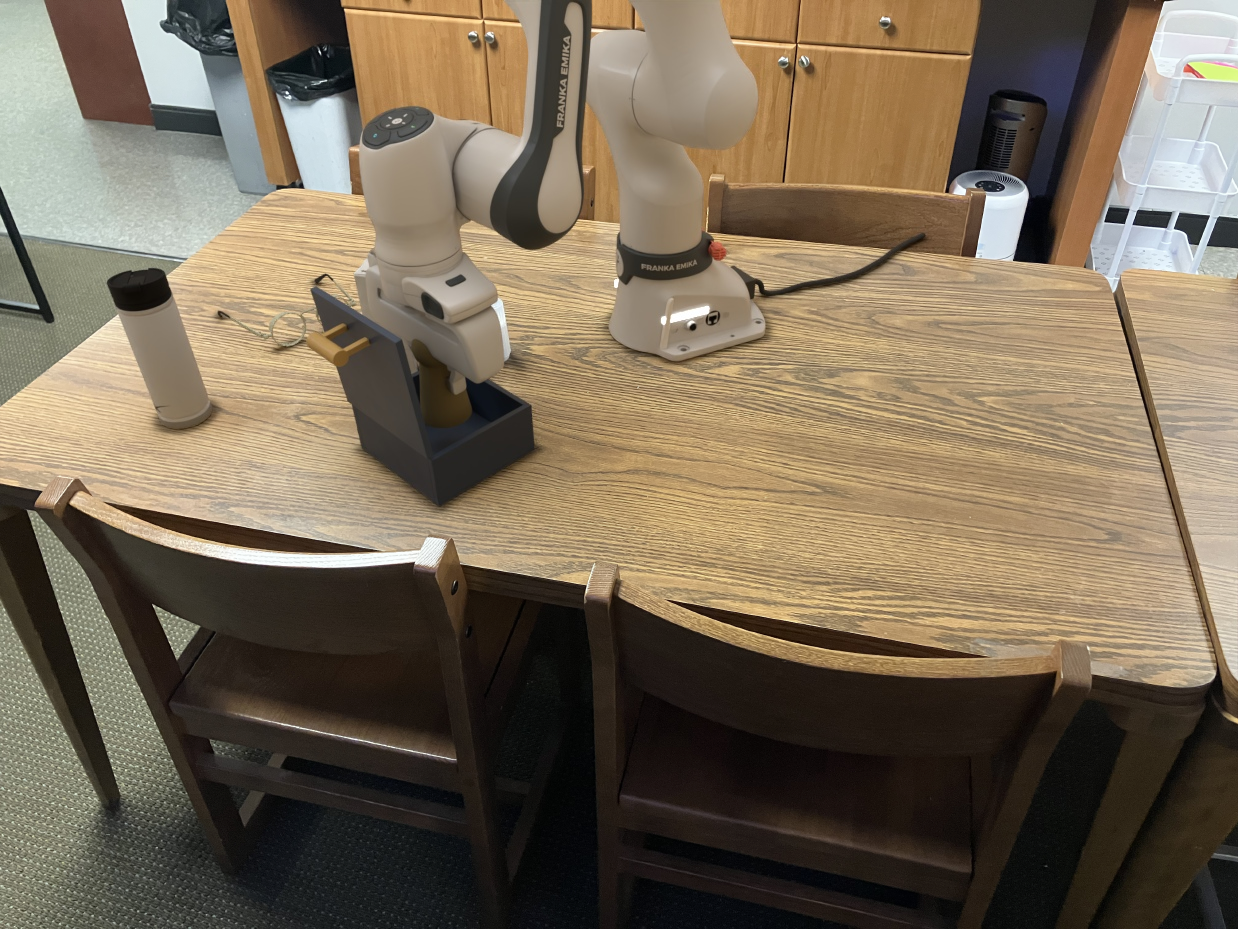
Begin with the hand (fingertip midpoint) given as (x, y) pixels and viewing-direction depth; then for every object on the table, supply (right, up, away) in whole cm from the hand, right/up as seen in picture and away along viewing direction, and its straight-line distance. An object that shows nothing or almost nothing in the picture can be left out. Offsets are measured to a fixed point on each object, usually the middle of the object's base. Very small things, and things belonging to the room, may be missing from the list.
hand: (441, 380), depth 107 cm
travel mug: (-35, -4, +12) cm, 37 cm away
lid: (-6, 0, -8) cm, 9 cm away
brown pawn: (0, -4, +3) cm, 5 cm away
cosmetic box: (-9, +4, +20) cm, 22 cm away
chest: (0, -8, +6) cm, 10 cm away
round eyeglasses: (-28, +12, +31) cm, 43 cm away
